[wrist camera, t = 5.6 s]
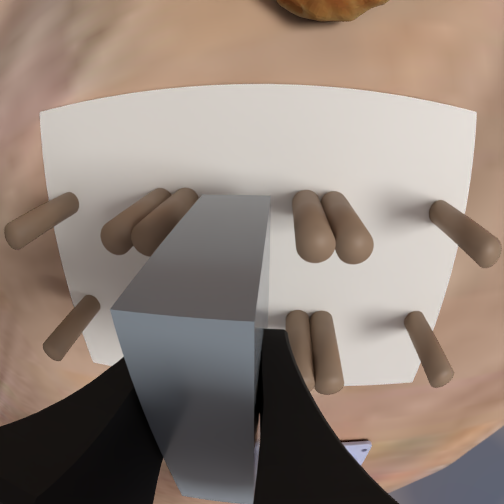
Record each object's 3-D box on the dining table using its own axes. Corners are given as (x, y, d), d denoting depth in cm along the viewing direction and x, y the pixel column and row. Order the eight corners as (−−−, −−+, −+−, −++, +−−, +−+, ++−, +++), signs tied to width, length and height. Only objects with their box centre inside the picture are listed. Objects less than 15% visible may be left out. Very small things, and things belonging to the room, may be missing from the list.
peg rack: (408, 371, 18) (430, 437, 13) (99, 353, 20) (64, 408, 15) (466, 111, 12) (538, 120, 7) (51, 110, 14) (-24, 122, 9)
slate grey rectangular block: (266, 366, 14) (253, 504, 8) (215, 362, 15) (182, 495, 8) (270, 195, 11) (254, 321, 5) (202, 194, 11) (109, 309, 5)
